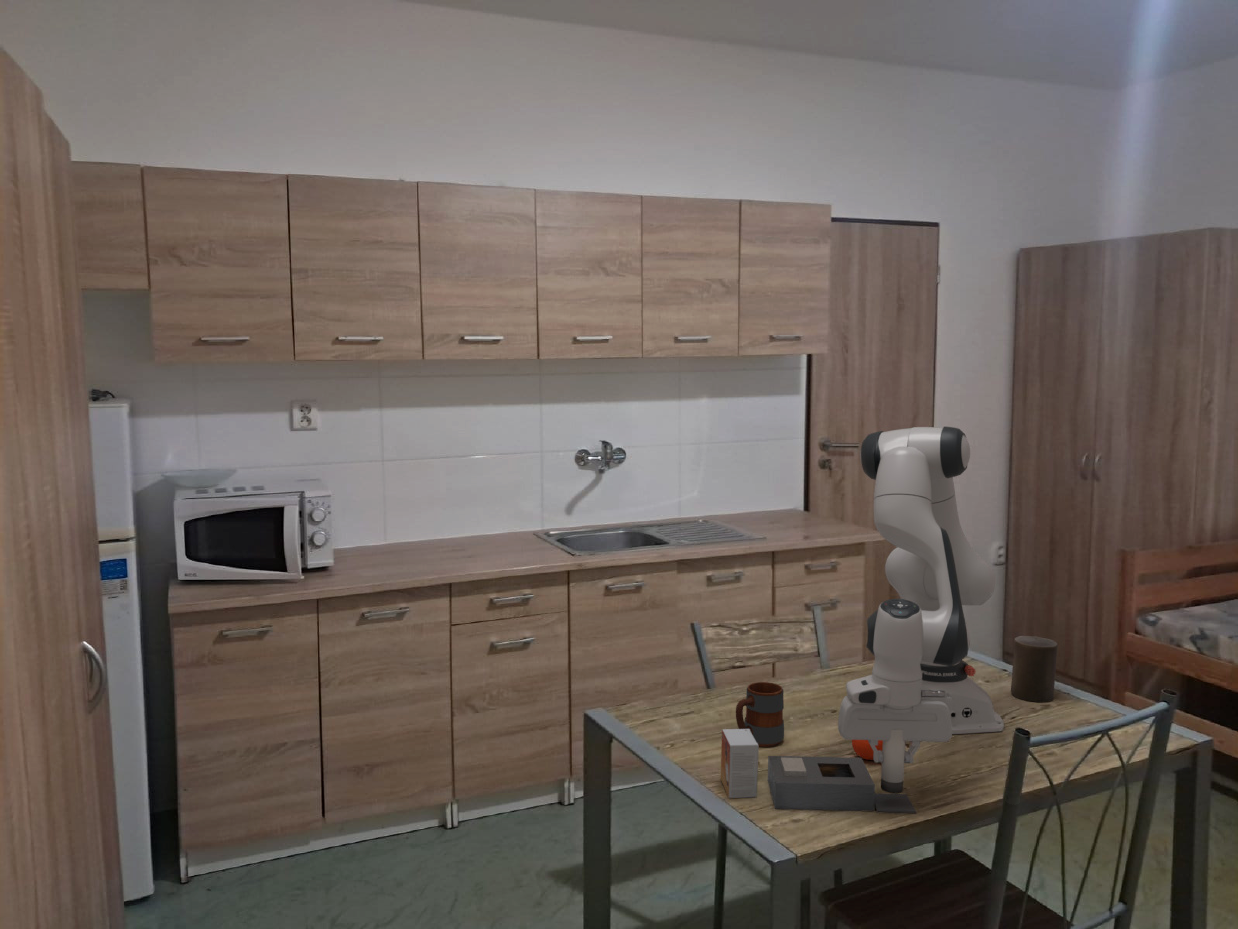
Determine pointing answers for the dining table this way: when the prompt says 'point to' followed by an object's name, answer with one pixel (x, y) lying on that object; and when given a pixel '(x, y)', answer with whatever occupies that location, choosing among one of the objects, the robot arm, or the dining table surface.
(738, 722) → the mug
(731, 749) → the small box
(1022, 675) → the pillar candle
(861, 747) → the clementine
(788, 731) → the dining table surface
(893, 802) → the mat
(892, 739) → the white cylinder
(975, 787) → the dining table surface
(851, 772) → the panel
